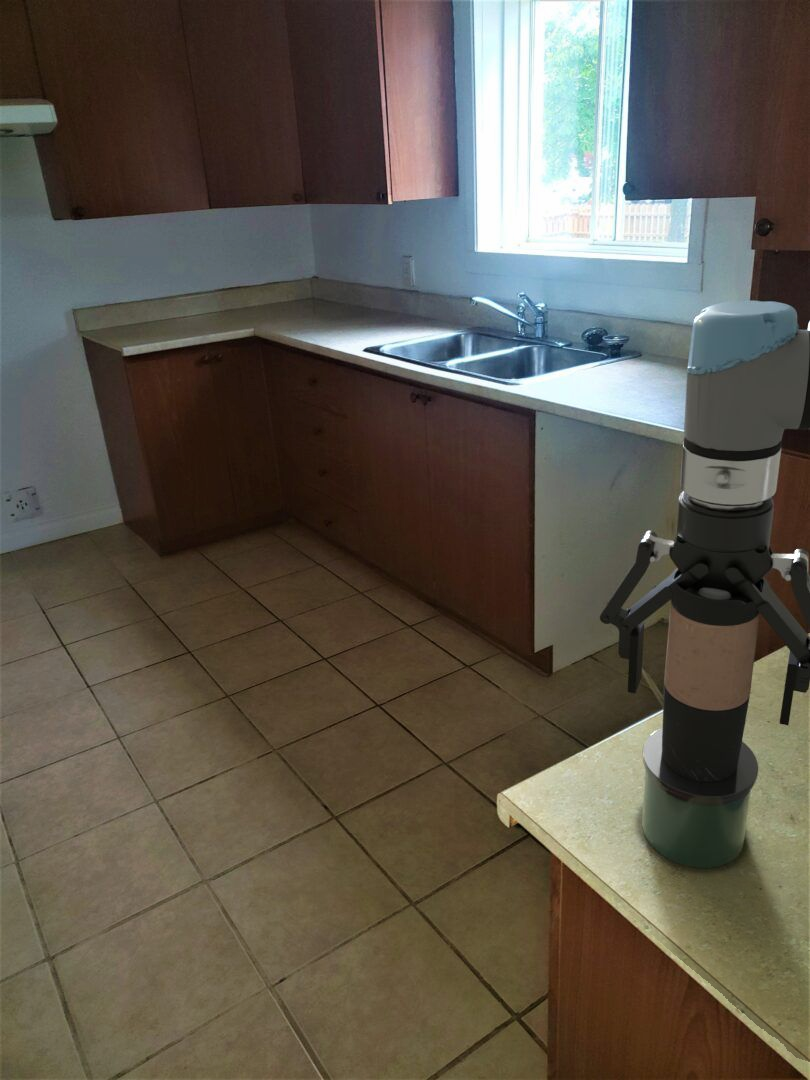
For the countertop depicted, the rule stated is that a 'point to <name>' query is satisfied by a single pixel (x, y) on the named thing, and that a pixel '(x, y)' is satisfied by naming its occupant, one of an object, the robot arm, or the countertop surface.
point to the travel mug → (707, 681)
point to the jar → (695, 809)
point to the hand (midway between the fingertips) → (706, 700)
